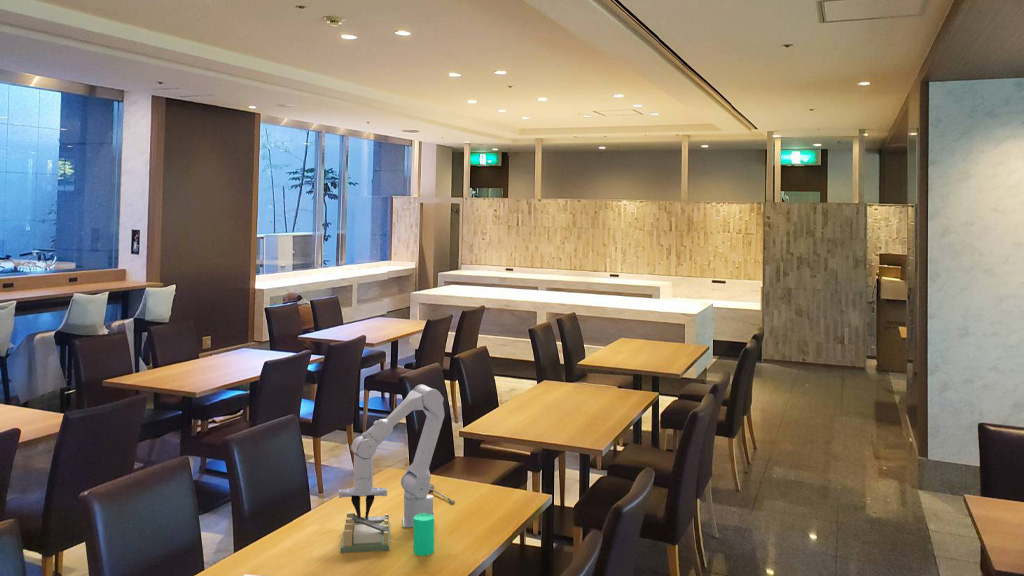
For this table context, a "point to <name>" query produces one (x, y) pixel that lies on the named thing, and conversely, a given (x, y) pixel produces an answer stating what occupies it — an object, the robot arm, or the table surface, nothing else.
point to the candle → (423, 534)
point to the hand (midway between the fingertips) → (363, 519)
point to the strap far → (375, 519)
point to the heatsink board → (367, 545)
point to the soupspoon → (441, 494)
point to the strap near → (369, 523)
